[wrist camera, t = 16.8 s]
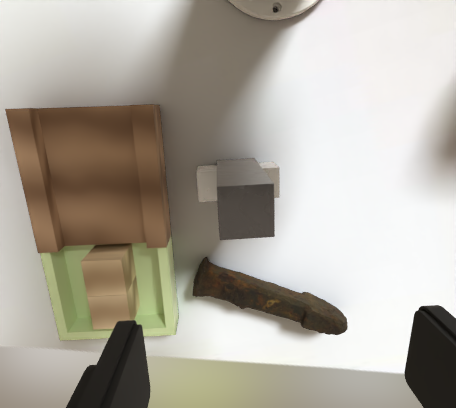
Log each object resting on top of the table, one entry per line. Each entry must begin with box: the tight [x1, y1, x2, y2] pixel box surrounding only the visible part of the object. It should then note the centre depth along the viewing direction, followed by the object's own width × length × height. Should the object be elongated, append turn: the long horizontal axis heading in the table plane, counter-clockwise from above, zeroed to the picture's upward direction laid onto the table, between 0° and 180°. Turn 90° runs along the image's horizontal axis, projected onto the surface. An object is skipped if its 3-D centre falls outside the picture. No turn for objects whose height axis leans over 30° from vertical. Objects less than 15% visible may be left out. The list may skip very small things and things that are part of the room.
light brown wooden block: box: [87, 276, 140, 330], centre depth 35 cm, size 4×4×4 cm
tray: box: [40, 237, 179, 341], centre depth 35 cm, size 11×13×3 cm
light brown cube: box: [81, 243, 136, 297], centre depth 33 cm, size 4×4×4 cm
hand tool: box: [193, 257, 347, 335], centre depth 36 cm, size 19×4×5 cm, turn 68°
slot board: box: [5, 104, 171, 253], centre depth 31 cm, size 14×13×4 cm
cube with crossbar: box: [196, 158, 279, 240], centre depth 28 cm, size 4×8×12 cm, turn 93°
